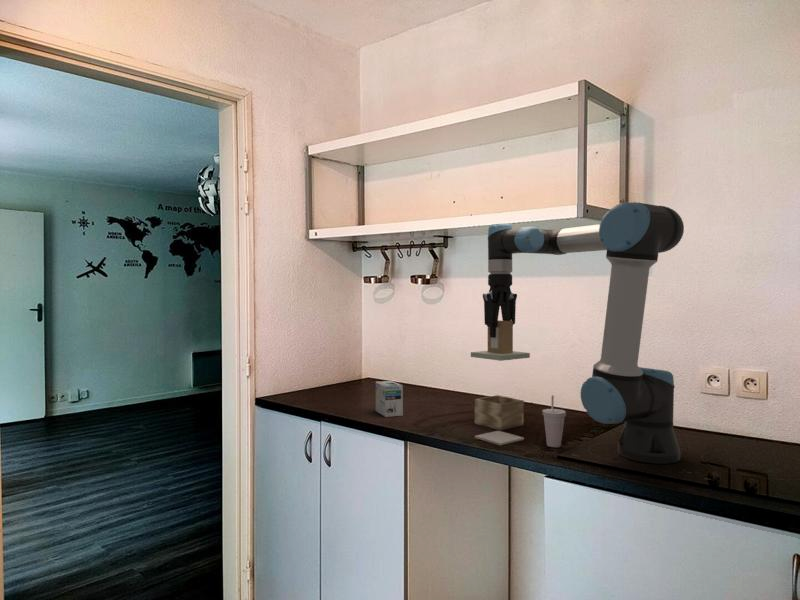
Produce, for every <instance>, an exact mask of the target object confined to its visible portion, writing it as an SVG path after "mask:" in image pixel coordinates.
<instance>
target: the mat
mask: <svg viewBox="0 0 800 600" xmlns="http://www.w3.org/2000/svg"><path fill="white" fill-rule="evenodd" d="M474 438H475V439H477V440H481V441H483V442H488V443H491V444H495V445H498V446H503V445H508V444H511V443H516V442H520V441H524V440H525V437H523V436H520V435H516V434H512V433H509V432H505V431H502V430H495V431H490V432H485V433H482V434H477V435H474Z"/></svg>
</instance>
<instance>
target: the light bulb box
mask: <svg viewBox="0 0 800 600" xmlns="http://www.w3.org/2000/svg"><path fill="white" fill-rule="evenodd" d="M403 387H404V385H403V384H401V383H397V382H395V381H393V380H382V381H378V380H377V381H375V412H376V413H378V414H379V415H382V416H383V417H384V418H391V417H402V416H404V406H403V405H404V401H403V400H404V398H403V397H404V396H403V395H404V394H403V393H404V390H403V389H404V388H403Z"/></svg>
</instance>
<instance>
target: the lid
mask: <svg viewBox="0 0 800 600" xmlns="http://www.w3.org/2000/svg"><path fill="white" fill-rule="evenodd" d="M513 326H514V324H513V321H503V320H499V319H498V322H497V327H499V348H491V337H490V327H487V350H482V351H470V358H475V359H477V358H479V359H484V360H485V359H486V360H492V361H500V362H501V361H511V360H521V359H530V357H531V352H524V351H515V350H513V349H514V348H513V347H514V343H513V342H514V339H513V338H514V334H513V333H514V328H513Z"/></svg>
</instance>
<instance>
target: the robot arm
mask: <svg viewBox="0 0 800 600" xmlns="http://www.w3.org/2000/svg"><path fill="white" fill-rule="evenodd" d="M684 230H685V226H684V221H683V219H682V217H681V216H680V214H679V213H678V212H677V211H675V210H674V209H672V208H670V207H668V206H665V205H655V204H650V203H642V202H635V201H634V202H626V201H625V202H621V203H618V204H615V205H614V206H612V207H611V208H610V209H609V210H608V211H606V212H605V214H604V216H603V217H602V219H601V221H600V224H599V223H597V224H592V225H584V226H583V225H582V226H575V227H574V226H573V227H567V228H566V227H565V228H559V229H543V228H538V227H537V226H523V227H518V228H513V226H512V224H510V223H494V224H491V225H489V226H488V232H487V259H488V260H487V261H488V264H487V265H488V266H487V269H488V270H487V271H488V273H489V274H488V275H487V284H488V286H489V290H488V292H487V293H482V299H483V306H484V307H483V309H484V310H483V311H484V313H483V314H484V315H483V316H484V325H485V326H486V328H488V327H490V337H491V348H499V327H497V322H498V320H499V315H500V312H501V321H513V325H515V324H516V311H517V310H516V308H517V306H516V304H517V298H518V294H517V293H513V292H512V290H511V286H513V275H512V273H513V254H540V255H544V254H545V255H554V256H560V255H561V256H562V255H567V254H571V253H572V254H573V253H574V254H575V253H586V252H599V251H606V254H605V255H606V256H605V258H606V259H607V261H608V262H609V263H610V265H611V267H610V278H609V285H608V292H607V293H608V294H607V302H606V311H605V320H604V329H603V336H602V343H601V344H602V345H601V346H602V347H601V353H600V359H599V360H598V361H597V362H596V363H594V364H593V367H592V376H591V377H588V378H587V379H586V380H585V381H584V382H583V383H582V385H581V388H580V400H581V403H582V406H583V408H584V409H585V411H586V412H587V414H588V416H589V417H590V418H592V419H593V420H594V421H596V422H598V423H600V424H612V425H613V424H615V425H616V424H617V425H618V424H620V423H623V422H624V426H623V428H622V431H621V434H620V437H619V439H618V442H617V454H618V455H619V456H621V457H623V458H625V459H627V460H631V461H636V462H638V463H639V462H640V463H645V464H646V463H647V464H658V465H659V464H660V465H665V464H673V463H678V462H680V461H681V449H680V445H679V443H678V439H677V436H676V434H675V430H674V405H675V404H674V403H675V402H674V397H675V396H674V395H675V384H674V383H675V382H674V375H673V374H672V372H671V371H668V370H663V369H656V368H648V367H641V366H639V365H638V362H639V354H640V347H641V341H642V340H641V339H642V332H643V331H642V330H643V324H644V314H645V308H646V307H645V306H646V298H647V293H648V286H649V285H648V283H649V274H650V269H651V268H652V266H654V265H655V264H656V263H658V260H659V259H658V258H659V254H661V253H666V252H668V251H671V250H673V249H674V248H675V247H676V246H678V245H679V243H680V242H681V240H682V238H683V236H684V232H685V231H684Z"/></svg>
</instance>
